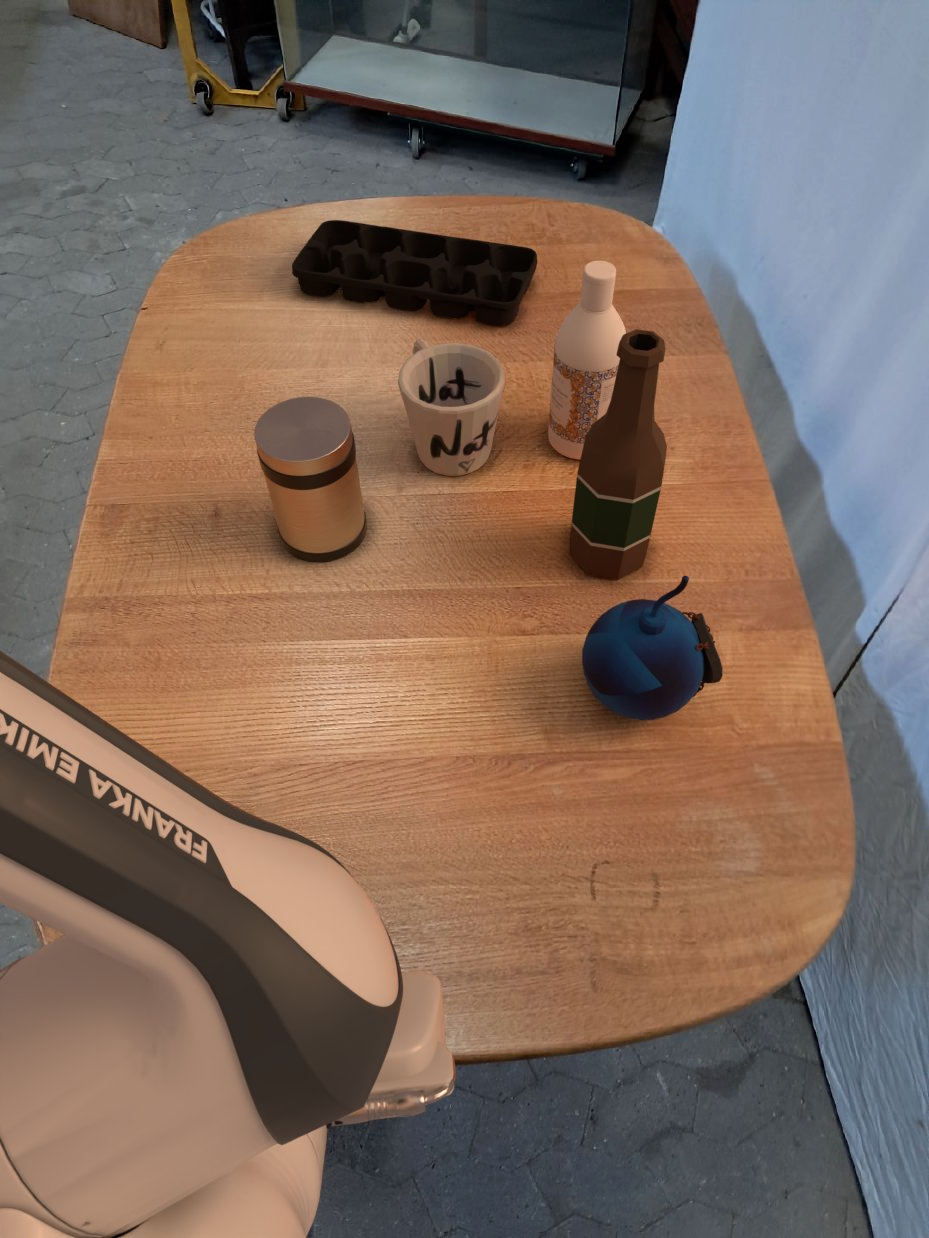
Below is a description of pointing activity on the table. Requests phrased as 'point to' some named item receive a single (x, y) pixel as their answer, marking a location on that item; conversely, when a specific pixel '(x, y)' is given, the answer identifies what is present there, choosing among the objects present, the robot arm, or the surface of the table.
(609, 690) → the bomb
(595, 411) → the bath foam
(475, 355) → the mug
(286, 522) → the copper canister
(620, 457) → the beer bottle
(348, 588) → the table surface
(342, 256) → the egg carton
